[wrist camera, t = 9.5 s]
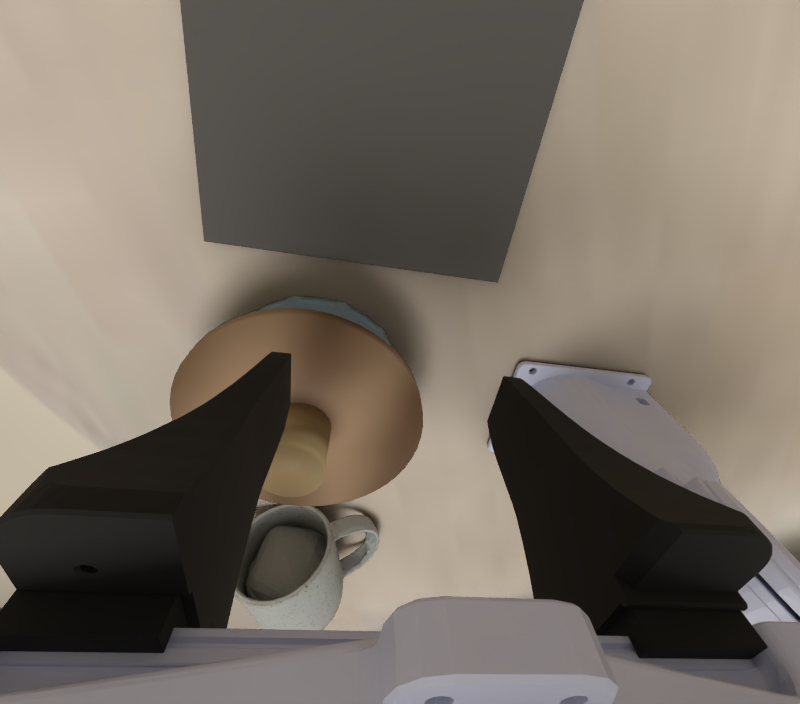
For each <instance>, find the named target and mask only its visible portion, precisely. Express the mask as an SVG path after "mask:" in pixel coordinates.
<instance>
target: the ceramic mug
mask: <svg viewBox="0 0 800 704" xmlns="http://www.w3.org/2000/svg"><path fill="white" fill-rule="evenodd" d="M359 532H367V535H366V538H365V542H364V543H363V544H362V545H361V547H360V548H358V549H357V550H355V551H354V552H353V553H351V554H350V555H348V556H346V557H345V558H343V559H341V560H339V555H338V553H337V548H336V543H335V541H336V540H338V539H340V538H341V537H344V536H348V535H351V534H354V533H359ZM378 544H379V534H378V531H377V529H376V528H375V526H374V524H373V522H372V520H371V519H370V518H369V517H367V516H363V515H351V516H347V517H343V518H340V519H337V520H335V521H332V522H329V521H328V519H327V517H326V516H325V515H324V514H323V513H322V512H321V511H320V510H318V509H317V508H315V507H313V506H293V505H284V504H283V505H279V506H276V507H273V508H271V509H269V510H267V511H265V512H264V513H262V514H260V515H259V516H257V517H256V518H255V519H254V520H253V521H252V525H251V529H250V533H249V537H248V541H247V545H246V549H245V553H244V556H243V560H242V564H241V569H240V573H239V577H238V581H237V585H236V590H235V594H234V596H235V597H236V599H237V600H238V601H239V602H240V603H241V604H242V605H243V607H244V608H245V609H246V610H247V611H248V613H249V614H250V615H251V616H252V617H253V618H254V619H255V621H256V622H257V624H258V625H259V626H260V627H261V629H275V630H323V629H324V628H325V627H326V626H327V624H328V623H329V622H330V621H331V620H332V618H333V617H334V615H335V613H336V611H337V609H338V607H339V604H340V601H341V597H342V589H343V578H344V577H345V576H347V575H349V574H351V573H352V572H354V571H355V570H357V569H359V568H360V567H362V566H363V565H364V564H366V563H367V562H368V561H369V560H370V559H371V557H372V556H373V555H374V553H375V552H376V550H377V548H378Z"/></svg>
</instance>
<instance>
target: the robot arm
mask: <svg viewBox="0 0 800 704" xmlns="http://www.w3.org/2000/svg"><path fill="white" fill-rule="evenodd" d="M532 368H535V369H534V370H533V371H529V370H530V369H532ZM630 379H631V380H630ZM629 380H630V381H629ZM628 381H629V382H628ZM650 384H651V379H650V378H649V377H648V376H647V375H641V374H633V373H624V372H615V371H607V370H598V369H590V368H581V367H572V366H564V365H555V364H546V363H538V362H529V361H523V362H521V363H519V364H518V366H517V367H516V370H515V373H514V375H513V377H505V376H504V377H503V379H502V382H501V385H500V388H499V390H498V393H497V396H496V399H495V402H494V404H493V407H492V410H491V413H490V415H489V418H488V421H487V422H488V428H489V433H490V439H489V442H488V445H487V447H488V450H489V451H490V452H492V453H495V456H496V459H497V462H498V465H499V468H500V470H501V473H502V476H503V479H504V481H505V484H506V487H507V490H508V493H509V495H510V498H511V501H512V504H513V507H514V510H515V513H516V517H517V521H518V525H519V529H520V533H521V537H522V541H523V546H524V550H525V555H526V560H527V565H528V569H529V574H530V579H531V585H532V591H533V596H534V599H517V598H485V597H452V596H440V597H431V598H422V599H417V600H414V601H412V602H410V603H407V604H405V605H402V606H400V607H398V608H397V609H396V610H395V611H394V612H393V613H392V615H391V616H390V617H389V618H388V619H387V621H386V622H385V623H384V624H383V627H382V630H381V631H328V630H275V629H227V624H228V620H229V616H230V611H231V607H232V602H233V598H234V594H235V590H236V585H237V581H238V577H239V573H240V569H241V564H242V560H243V556H244V553H245V549H246V545H247V541H248V537H249V533H250V529H251V525H252V521H253V518H254V514H255V510H256V506H257V503H258V499H259V496H260V493H261V490H262V487H263V485H264V482H265V479H266V477H267V474H268V471H269V469H270V466H271V464H272V461H273V458H274V456H275V453H276V450H277V448H278V445H279V442H280V440H281V437H282V434H283V432H284V429H285V425H286V421H287V416H288V412H289V408H290V403H291V353H282V352H273V351H272V352H271V353H269V354H268V355H267V356H266V357H264V358H263V359H262V360H261V361H260V362H259V363H257V364H256V365H255V366H254V367H253V368H252V369H250V370H249V371H248V372H247V373H245V374H244V375H243V376H242V377H240V378H239V379H238V380H237V381H235V382H234V383H233V384H232V385H230V386H229V387H228V388H226V389H225V390H223V391H222V392H220V393H219V394H218V395H216V396H215V397H213V398H212V399H210V400H209V401H207V402H206V403H204V404H202V405H201V406H199V407H197V408H196V409H194V410H192V411H190V412H189V413H187V414H185V415H183V416H181V417H180V418H178V419H175V420H173V421H171V422H169V423H167V424H165V425H163V426H161V427H159V428H157V429H155V430H153V431H150V432H148V433H146V434H144V435H141V436H139V437H136V438H134V439H132V440H129V441H127V442H124V443H121V444H119V445H116V446H114V447H111V448H108V449H105V450H103V451H100V452H97V453H94V454H91V455H88V456H84V457H81V458H78V459H75V460H72V461H69V462H66V463H62V464H59V465H56V466H52V467H49V468H48V469H46V470H45V471H44V472H43V473H42V474H41V475H40V476H39V477H38V478H37V479H36V480H35V481H34V482H33V483H32V484H31V485H30V486H29V487H28V488H27V489H26V490H25V492H24V493H23V494H22V495H21V496H20V497H19V498H18V499H17V500H16V501H15V502H14V503H13V504H12V505H11V506H10V507H9V508H8V510H7V511H6V512H5V513H4V514H3V515H2V516H1V517H0V565H1V566H2V568H3V569H4V571H5V572H6V574H7V575H8V577H9V578H10V580H11V582H12V583H13V584H14V586H15V587H16V589H17V590H16V591H15V592H14V594H13V595H12V596H11V598H10V599H9V600H8V602H7V603H6V604H5V605H4V607H3V608H0V704H800V563H799V562H798V561H797V560H796V559H795V558H794V556H793V555H792V554H791V553H790V552H789V551H788V550H787V549H786V548H785V547H784V546H783V545H782V544H781V543H780V542H779V541H778V540H777V539H776V538H775V537H774V536H773V535H772V534H771V533H770V532H769V531H768V530H767V529H766V528H765V527H764V526H763V525H762V524H761V523H760V522H759V521H758V520H757V519H756V518H755V517H754V516H753V515H752V514H751V513H750V512H749V511H748V510H747V509H746V508H745V507H744V506H743V505H742V504H741V503H740V502H739V501H738V500H737V499H736V498H735V497H734V496H733V495H732V494H731V493H730V492H729V491H728V490H727V489H726V488H724V487H723V486H722V485H721V483H720V479H719V476H718V473H717V470H716V467H715V465H714V463H713V462H712V460H711V458H710V457H709V455H708V454H707V452H706V451H705V450H704V449H703V448H702V447H701V446H700V445H699V444H698V443H697V442H696V441H695V440H694V439H693V438H692V437H691V436H690V435H689V434H688V433H687V432H686V431H685V430H684V429H683V428H682V427H681V426H680V425H679V424H678V423H677V422H676V421H675V420H674V419H673V418H672V417H671V416H670V415H669V414H668V413H667V412H666V411H665V410H664V409H663V408H662V407H661V406H660V405H659V404H658V403H657V402H656V401H655V400H654V399H653V398H652V397H651V396H650V395H649V394H648V393H647V392H646V391H647V389H648V388H649V386H650Z"/></svg>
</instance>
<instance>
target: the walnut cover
mask: <svg viewBox="0 0 800 704" xmlns="http://www.w3.org/2000/svg"><path fill="white" fill-rule="evenodd" d="M272 351H273V352H282V353H291V403H290V408H289V412H288V416H287V421H286V425H285V429H284V432H283V434H282V437H281V440H280V442H279V445H278V448H277V450H276V453H275V456H274V458H273V461H272V464H271V466H270V469H269V471H268V474H267V477H266V479H265V482H264V485H263V487H262V490H261V493H260V496H259V499H261V500H265V501H269V502H273V503H279V504H284V505H293V506H324V505H331V504H338V503H343V502H347V501H351V500H354V499H357V498H360V497H363V496H365V495H367V494H369V493H372V492H374V491H376V490H377V489H379V488H381V487H382V486H384V485H386V484H387V483H388V482H390V481H391V480H392V479H394V478H395V477H396V476H397V475H398V474H399V473H400V472H401V471H402V470H403V469H404V468H405V467H406V465H407V464H408V463H409V461H410V460H411V459H412V457H413V455H414V453H415V451H416V449H417V447H418V444H419V441H420V438H421V433H422V427H423V412H422V405H421V399H420V393H419V390H418V387H417V384H416V381H415V379H414V377H413V375H412V373H411V371H410V369H409V367H408V366H407V365H406V363H405V362H404V361H403V359H402V358H401V357H400V355H399V354H398V353H397V352H396V351H395V350H394V349H393V348H392V347H391V346H390V345H389V344H388V343H386V342H385V341H384V340H383V339H381V338H380V337H379V336H377V335H376V334H375V333H373V332H371V331H370V330H368V329H366V328H365V327H363V326H361V325H359V324H357V323H355V322H352V321H350V320H348V319H346V318H343V317H339V316H336V315H333V314H330V313H326V312H321V311H316V310H310V309H299V308H276V309H267V310H261V311H255V312H251V313H248V314H245V315H242V316H238V317H236V318H234V319H231V320H229V321H227V322H225V323H223V324H221V325H219V326H218V327H216V328H215V329H213V330H212V331H210V332H209V333H208V334H207V335H205V336H204V337H203V338H202V339H201V340H200V341H199V342H198V343H197V344H196V345H195V346H194V348H193V349H192V350H191V351H190V352H189V354H188V355H187V356H186V358H185V359H184V360H183V362H182V363H181V365H180V367H179V369H178V371H177V373H176V374H175V377H174V380H173V384H172V387H171V395H170V409H171V416H172V420H175V419H178V418H180V417H181V416H183V415H185V414H187V413H189V412H190V411H192V410H194V409H196V408H197V407H199V406H201V405H202V404H204V403H206V402H207V401H209V400H210V399H212V398H213V397H215V396H216V395H218V394H219V393H220V392H222V391H223V390H225V389H226V388H228V387H229V386H230V385H232V384H233V383H234V382H235V381H237V380H238V379H239V378H240V377H242V376H243V375H244V374H245V373H247V372H248V371H249V370H250V369H252V368H253V367H254V366H255V365H256V364H257V363H259V362H260V361H261V360H262V359H263V358H264V357H266V356H267V355H268V354H269V353H271V352H272Z"/></svg>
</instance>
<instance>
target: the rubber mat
mask: <svg viewBox="0 0 800 704" xmlns="http://www.w3.org/2000/svg"><path fill="white" fill-rule="evenodd" d="M583 1H584V0H180V3H181V13H182V23H183V33H184V43H185V53H186V63H187V73H188V83H189V93H190V103H191V113H192V123H193V133H194V143H195V153H196V163H197V173H198V183H199V194H200V204H201V214H202V224H203V234H204V241H207V242H214V243H221V244H228V245H235V246H242V247H249V248H256V249H264V250H271V251H278V252H285V253H292V254H299V255H306V256H313V257H320V258H327V259H335V260H342V261H349V262H356V263H363V264H370V265H377V266H384V267H391V268H398V269H406V270H413V271H420V272H427V273H434V274H441V275H448V276H455V277H462V278H469V279H477V280H484V281H491V282H498V280H499V277H500V274H501V270H502V267H503V264H504V260H505V257H506V254H507V251H508V247H509V244H510V241H511V237H512V234H513V231H514V228H515V224H516V221H517V218H518V214H519V211H520V208H521V205H522V201H523V198H524V195H525V191H526V188H527V185H528V182H529V178H530V175H531V172H532V168H533V165H534V162H535V159H536V155H537V152H538V149H539V145H540V142H541V139H542V136H543V132H544V129H545V126H546V123H547V119H548V116H549V113H550V109H551V106H552V103H553V100H554V96H555V93H556V90H557V86H558V83H559V80H560V77H561V73H562V70H563V67H564V63H565V60H566V57H567V54H568V50H569V47H570V44H571V40H572V37H573V34H574V31H575V27H576V24H577V21H578V17H579V14H580V11H581V8H582V4H583Z"/></svg>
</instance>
